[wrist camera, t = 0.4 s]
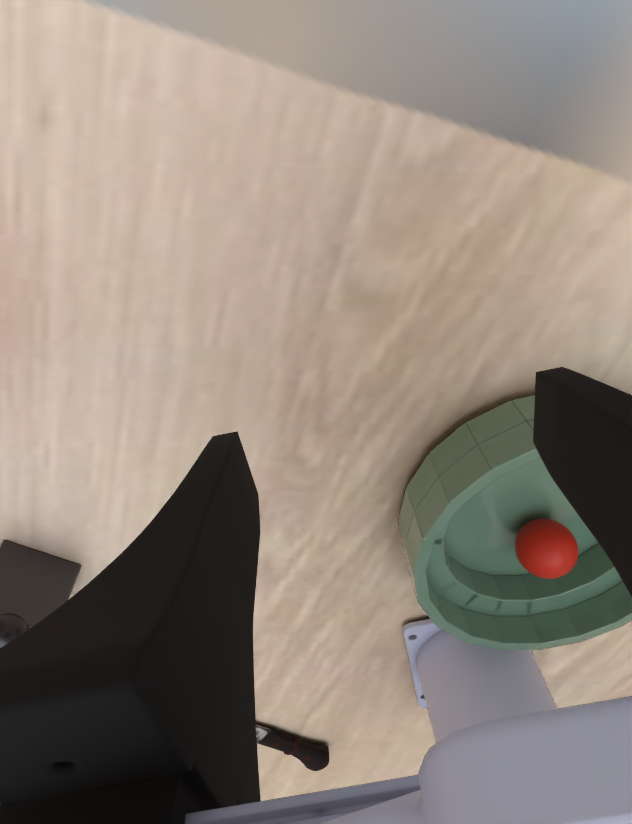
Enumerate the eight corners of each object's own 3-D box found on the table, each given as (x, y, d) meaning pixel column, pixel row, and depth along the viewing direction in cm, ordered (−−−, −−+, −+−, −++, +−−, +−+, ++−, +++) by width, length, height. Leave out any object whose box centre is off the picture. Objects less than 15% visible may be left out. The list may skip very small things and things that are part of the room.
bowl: (647, 562, 31) (693, 620, 28) (413, 609, 32) (430, 671, 29) (687, 353, 24) (756, 399, 20) (378, 421, 24) (396, 476, 21)
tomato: (560, 540, 29) (588, 584, 26) (506, 551, 29) (528, 596, 27) (562, 501, 27) (592, 544, 25) (505, 513, 28) (528, 556, 25)
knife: (66, 748, 36) (74, 704, 34) (73, 728, 37) (81, 684, 35) (321, 777, 40) (343, 739, 38) (319, 758, 41) (341, 720, 39)
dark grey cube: (63, 597, 29) (35, 666, 26) (-13, 574, 28) (-53, 644, 25) (82, 564, 28) (55, 633, 25) (4, 539, 27) (-36, 607, 23)
